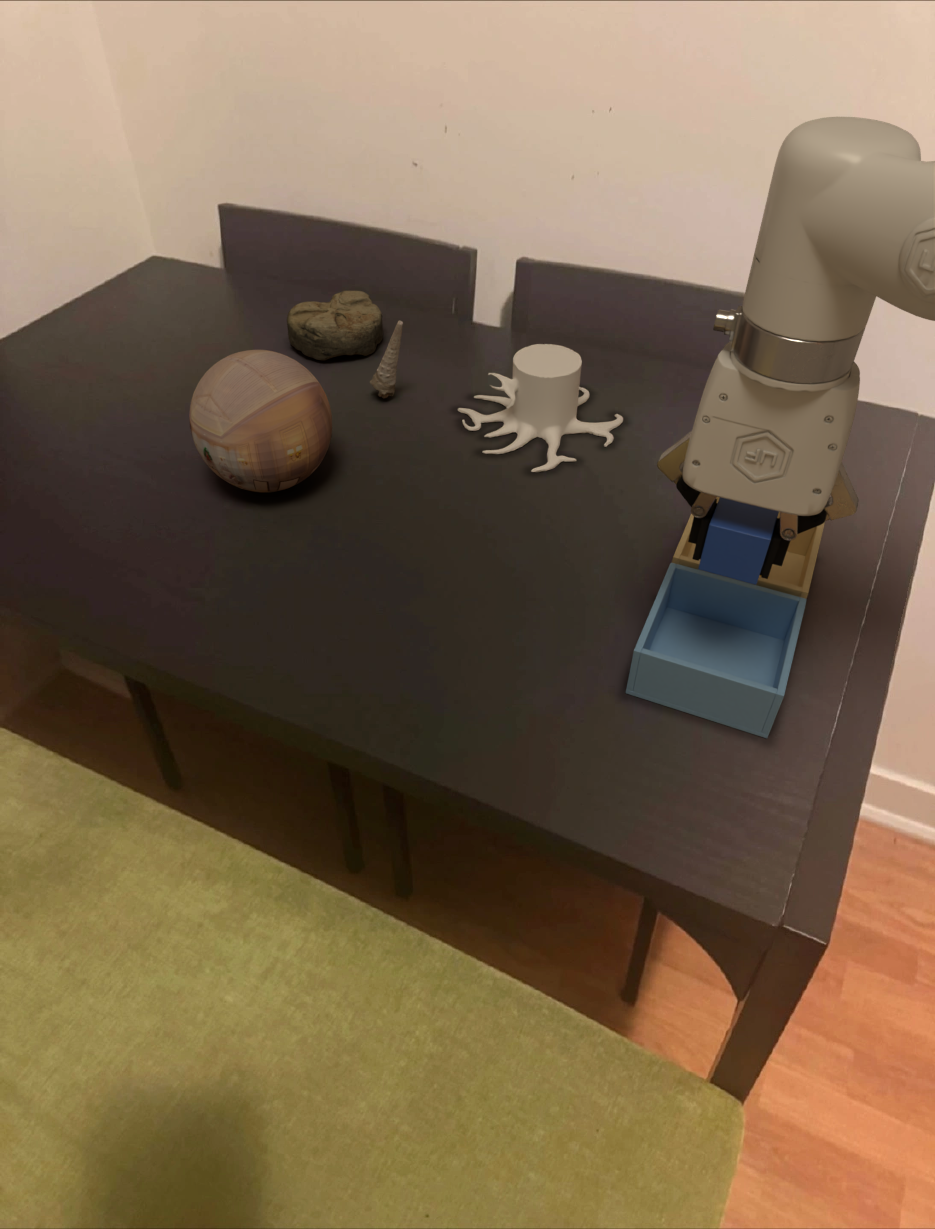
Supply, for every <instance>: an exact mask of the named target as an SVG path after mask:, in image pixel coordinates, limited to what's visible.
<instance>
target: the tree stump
mask: <svg viewBox="0 0 935 1229" xmlns="http://www.w3.org/2000/svg"><path fill="white" fill-rule="evenodd" d="M582 363H583V360H582V357H581V355H580V354H579V353H578V352H577V351H574V350H573V349H571V348H570V347H567V346H563V345H559V344H552V343H544V344H543V343H536V344H531V345H528V346H525V347H523V348H520V349H519V350H517V351H516V353H515V354H514V355H513V358H512V374H511V377H512V378H509V377H508V376H504V375H502V374H500V373H496V372H488V374H487V376H493V377H495V378H497V379H498V380H499V381H500V383H501V386H494V385H492V384H489V387H491V389H493V390H495V391H501V392H504V393H505V394H506V395H507V396H499V395H498V396H497V395H485V394H477V395H473V399H479V400H484V401H489V402H495V403H496V404H497V403H498V404H501V405H503V406H504V407H505V409H503V410H500V411H498V412H494V413H491V414H484V413H480V412H478V411H476V410H474V409H472V408H466V407H465V408H464V407H458V408H457V412H459V413H461V414H465V415H467V416H468V417H469V418H470V419H471V421H472V423H473V424H474V426H469V425H468V424H467V423H466V421H465V419H462V421H461V422H462V425H463V426H464V428H465V429H466V430H468V431H471V432H472V431H473V432H475V431H479V430H480V429H482V424H483V423H495V422H496V423H498V422H499V423H500V422H501V423H503V425H502V427H500V428H498V429H497V430H494V431H491V432H488V433H486V434H485V435H483V437H484V438H494V437H500V436H505V435H509V434H512V433H516V434H517V436H516V438H515V440H514V441H512V443H510V444H509V445H507V446H505V447H502V448H499V449H491V450H490V449H486V450H482V453H483V454H485V455H487V454H488V455H501V454H506V453H509V452H513V451H516V450H517V449H520V448H522V447H524V446H525V445H526V444H528V443H529V442H530V441H532V440H533V439H536V438H540V439H542V440H543V441H545V443H546V444H547V445H548V447H547V453H546V459H547V462H546V463H545V464H542V465H541V466H536V467H534V468H532V469H531V470H530V472H531V473H540V472H541V473H542V472H547V471H550V470H553V469H555V468H556V467H557V466H558V465H560V463H562V462H570V463H571V462H573V463H574V462H577V458H574V457H570V456H569V457H568V456H565V455H557V453H558V450H559V448H560V445H561V440H562V437H563V436H564V435H574V434H575V435H576V434H590V435H593V436H599V437H604V438H606V442H604V444H603V447H606V448H607V447H608V446H609V445H610V444H612V443H613V441H614V439H615V437H614V435H613V434H612V433H611V431H612V430H614V429H616V428H619V426H620V425H621V424H622V423H623V422H624V417H623V416H622V415H621V414H618V413H616V414H614V417H615V418H616V419H613V420H610V421H601V422H587V421H582V420H578V419H577V416H578V415H577V414H578V407H579V406H581V405H583V404H584V403H586V402H587V401H588V400H589V398H590V392H589V390H588V389H586V388H585V387H581V386H580V383H581V374H582V373H581V372H582ZM580 391H581V392H582V393H583V395H581V396H579V395H580Z"/></svg>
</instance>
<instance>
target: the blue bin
mask: <svg viewBox="0 0 935 1229" xmlns="http://www.w3.org/2000/svg"><path fill="white" fill-rule="evenodd" d="M807 601H808V599H807V598H806V599H805V598H801V597H798V596H794V595H790V594H786V593H783V592H779V591H775V590H772V589H768V588H764V587H761V586H757V585H753V584H749V583H746V582H742V581H738V580H735V579H731V578H727V577H723V576H720V575H716V574H712V573H709V572H705V571H701V570H697V569H694V568H690V567H686V566H683V565H679V564H675V563H672V562H670V563H669V566H668V568H667V570H666V572H665V576H664V577H663V580H662V582H661V584H660V587H659V589H658V592H657V594H656V597H655V599H654V601H653V603H652V606H651V607H650V610H649V613H648V616H647V617H646V619H645V620H646V621H645V623H644V625H643V626H642V627H643V628H642V630H641V632H640V634H639V637H638V640H637V642H636V643H635V647H634V649H633V652H632V657H631V663H630V666H629V667H630V668H629V674H628V678H627V683H626V689H625V694H627V695H630V696H632V697H636V698H639V699H642V700H645V701H648V702H651V703H655V704H658V705H661V706H664V707H667V708H670V709H674V710H677V711H680V712H683V713H686V714H688V715H692V716H695V717H698V718H700V719H705V720H708V721H711V722H713V723H717V724H721V725H723V726H727V727H729V728H733V729H735V730H738V731H742V732H744V733H748V734H752V735H754V736H758V737H761V738H764V739H768V738H769V735H770V732H771V730H772V728H773V726H774V723H775V720H776V718H777V715H778V713H779V710H780V708H781V705H782V702H783V700H784V698H785V694H786V689H787V685H788V681H789V677H790V673H791V668H792V665H793V660H794V655H795V652H796V647H797V643H798V638H799V635H800V631H801V626H802V622H803V619H804V618H803V617H804V614H805V610H806V605H807Z"/></svg>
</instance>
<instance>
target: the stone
mask: <svg viewBox="0 0 935 1229" xmlns="http://www.w3.org/2000/svg"><path fill="white" fill-rule="evenodd" d="M286 325H287V326H286V327H287V336H288V337H287V338H288V341H289V344H290V345H291V346H292V347H294V349H296V350H297V351H300V352H301V353H302V354H303V355H304V356H306V357H308V358H313V359H314V360H318V361H327V360H330V359H332V358H335V357H340V356H354V355H361V356H364V357H365V356H369V355H372V354H373V353H375V351H376V349H377V345H378V344H380V343H381V342H382V340H383V336H384V335H383V333H384V328H383V326H384V324H383V313H382V311H381V309H380V308H379V307H378V305H377V304H375V303H373V300H372V298H371V295H369V294H368V293H366V292H364V291H361V290H343V291H341V292H340V291H339V292H337V293H335V294H333V295H332V296H331V299H330V300H329V301H327V302H326V301H325V302H324V301H322V302H319V301H303V302H300V303H297V304H295V305H294V306H293V307H291V309H290V310H289V311H288V312H287V315H286Z"/></svg>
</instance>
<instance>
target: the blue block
mask: <svg viewBox="0 0 935 1229" xmlns="http://www.w3.org/2000/svg"><path fill="white" fill-rule="evenodd" d="M778 514H779V511H774V510H770V509H766V508H762V507H758V506H753V505H749V504H745V503H741V502H737V501H733V500H729V499H725V498H721V497H720V498H719V501H718V503H717V506H716V509H715V511H714V514H713V516H712V519H711V522H710V524H709V528H708V532H707V536H706V540H705V544H704V548H703V552H702V556H701V560H700V564H699V568H698V569H699V570H702V571H706V572H710V573H714V574H717V575H721V576H725V577H728V578H732V579H736V580H740V581H743V582H747V583H751V584H754V585H756V584H757V581H758V578H759V575H760V572H761V569H762V566H763V563H764V560H765V556H766V553H767V550H768V547H769V544H770V541H771V538H772V534H773V531H774V527H775V524H776V521H777V517H778Z"/></svg>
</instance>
